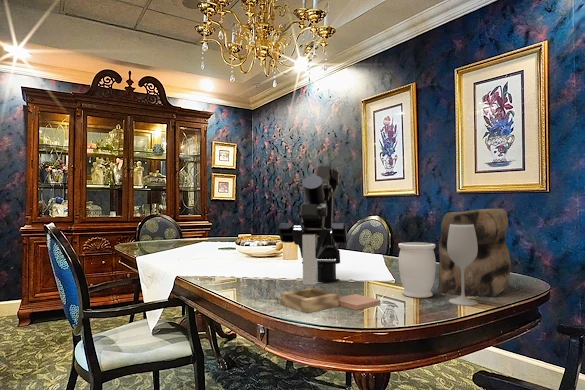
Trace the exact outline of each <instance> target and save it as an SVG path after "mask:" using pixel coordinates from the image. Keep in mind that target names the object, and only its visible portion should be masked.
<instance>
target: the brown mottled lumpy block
mask: <svg viewBox="0 0 585 390" xmlns="http://www.w3.org/2000/svg"><path fill="white" fill-rule="evenodd" d="M507 213H508V212H506V211H505V209H503V208H482V209H471V210H470V209H469V210H466V211H451V212H447V213H445V214H444V216H443V218H442V221H441V226H440V228H441V229H440V230H441V232H440V234H441V236H440V238H439V242H438V244H439V245H438V254H439V264H438V287H437V290H436V292H437V293H441V294H446V295H455V296H461V292H462V289H461V269H460V267H459V266H458V265H456V264H455V263H454V262H453V261H452V260H451V258H450V257H449V255H448V251H447V241H448V232H449V227H450V224H473V225H474V228H475V232H476V238H477V245H478V252H477V256H476V258H475V259H474V261H473V262H472V263H470V264H469V265H468V266H467V267H466V268H465V270H464V293H465V296H475V297H485V296H486V297H496V296H498V295H499V294H500V293H501V292H503V291H504V289H506V287H507V285H508V283H509V280H510V274H511V267H512V264H511V258H510V257H511V256H510V250H509V247H508V246H507V244H506V242H507V238H506V233H507V229H508V225H509V220H508V214H507Z"/></svg>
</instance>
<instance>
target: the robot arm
mask: <svg viewBox="0 0 585 390" xmlns="http://www.w3.org/2000/svg"><path fill="white" fill-rule="evenodd" d="M301 185H302V191H303V192H302V193H303V195H304V200H305V202H307V203H306V204H302V205H301V212H300V217H301V225H295V224H294V222H281V223H279V224H278V228H277V232H278V234H279V235H278V236H279V238H280V242H282V243H285V244H286V243H291V244H292V243H293V244H294V245H297V246H298V247H299V252H300V256H301V259H303V242H302V235H303V234H317V248H316V255H315V257H316V258H317V268H318V282H321V283H332V282H337V281H338V282H339V281H340V278H337V265H338V264H341V253H340V252H341V251H340V249H339V247H338V246H337V244H347V242H348V232H347V225H346V224H345V223H344V222H335V223H333V213H334V209H333V208H334V197H335V196H336V194H337V193H338V188H339V187H340V175H339V172H338V171H337V170H336V169H334V168H333V166H332V165H319V166H317V171H315V173H310V175H308V176H306V177H304V179H303V180H302V181H301Z"/></svg>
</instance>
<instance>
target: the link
mask: <svg viewBox="0 0 585 390" xmlns="http://www.w3.org/2000/svg"><path fill="white" fill-rule="evenodd" d="M302 242H303V258H302V284H303V285H311V286H312V285H313V286H315V285H317V284H318V282H319V281H318V268H317V260H318V259H317V258H316V257H315V255H316V248H317V234H303V235H302Z"/></svg>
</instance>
